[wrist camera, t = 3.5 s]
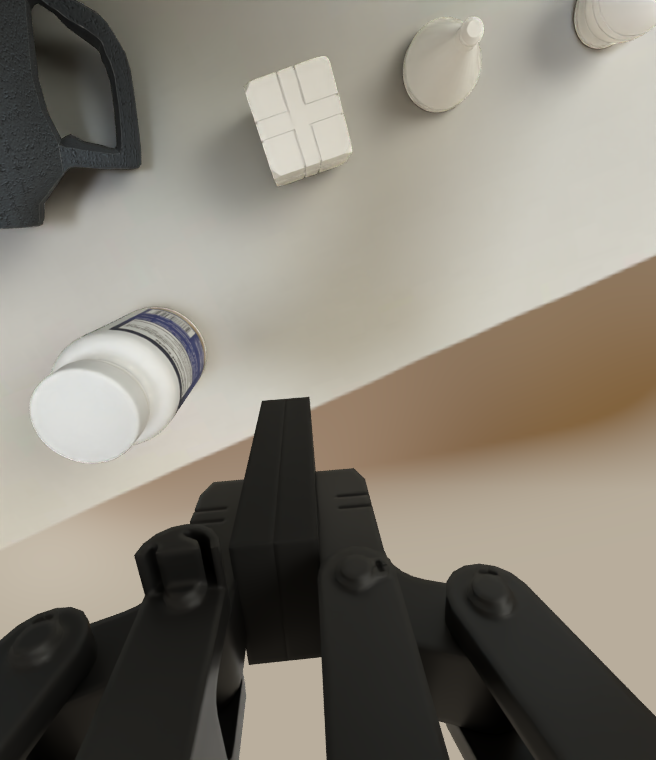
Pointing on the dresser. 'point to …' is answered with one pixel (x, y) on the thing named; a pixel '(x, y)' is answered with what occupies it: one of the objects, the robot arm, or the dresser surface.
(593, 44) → the decorative object set
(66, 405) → the pill bottle
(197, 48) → the dresser surface
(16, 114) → the mug
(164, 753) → the robot arm
